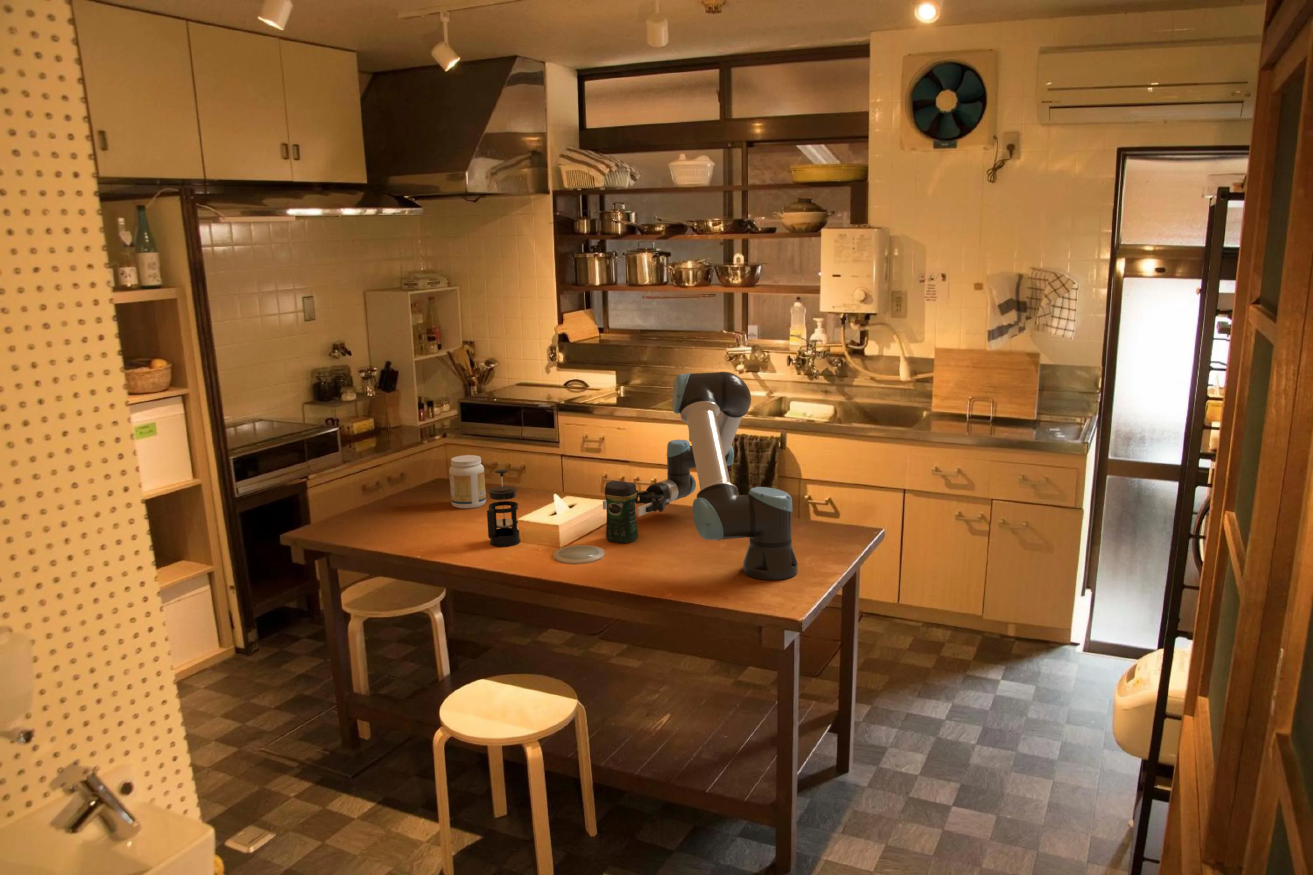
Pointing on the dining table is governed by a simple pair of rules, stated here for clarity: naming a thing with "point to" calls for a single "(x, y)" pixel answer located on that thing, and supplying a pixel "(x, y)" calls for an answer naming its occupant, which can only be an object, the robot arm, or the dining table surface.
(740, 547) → the dining table surface
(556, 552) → the grey plate
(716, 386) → the robot arm
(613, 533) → the coffee jar
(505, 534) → the french press
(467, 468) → the supplement tub
